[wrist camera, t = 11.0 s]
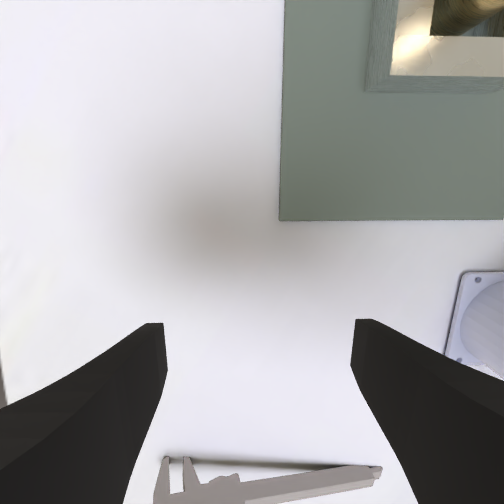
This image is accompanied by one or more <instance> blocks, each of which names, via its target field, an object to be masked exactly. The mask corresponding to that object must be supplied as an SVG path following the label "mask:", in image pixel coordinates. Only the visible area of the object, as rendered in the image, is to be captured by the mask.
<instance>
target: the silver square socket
mask: <svg viewBox="0 0 504 504" xmlns="http://www.w3.org/2000/svg"><path fill="white" fill-rule="evenodd" d="M433 7H434V0H372V10H371V21H370V31H369V41H368V52H367V62H366V72H365V82H364V92H366V93H446V94H490V93H493V92H496V91H499V90H502V89H504V9H503V10H501V11H499V12H498V13H496V14H495V15H493V16H491V17H490V18H488V19H487V20H485V21H483V22H482V23H480V24H479V25H477V26H475V27H474V28H473V32H472V37H469V36H429V34H430V27H431V21H432V14H433Z"/></svg>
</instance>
